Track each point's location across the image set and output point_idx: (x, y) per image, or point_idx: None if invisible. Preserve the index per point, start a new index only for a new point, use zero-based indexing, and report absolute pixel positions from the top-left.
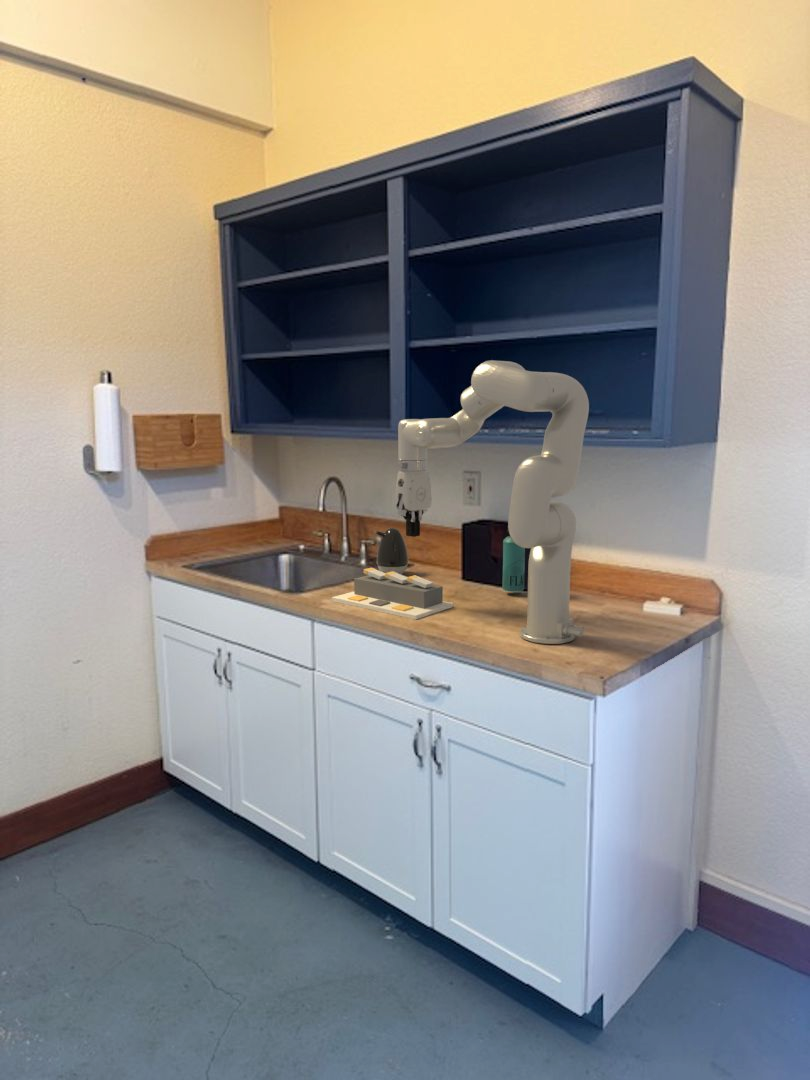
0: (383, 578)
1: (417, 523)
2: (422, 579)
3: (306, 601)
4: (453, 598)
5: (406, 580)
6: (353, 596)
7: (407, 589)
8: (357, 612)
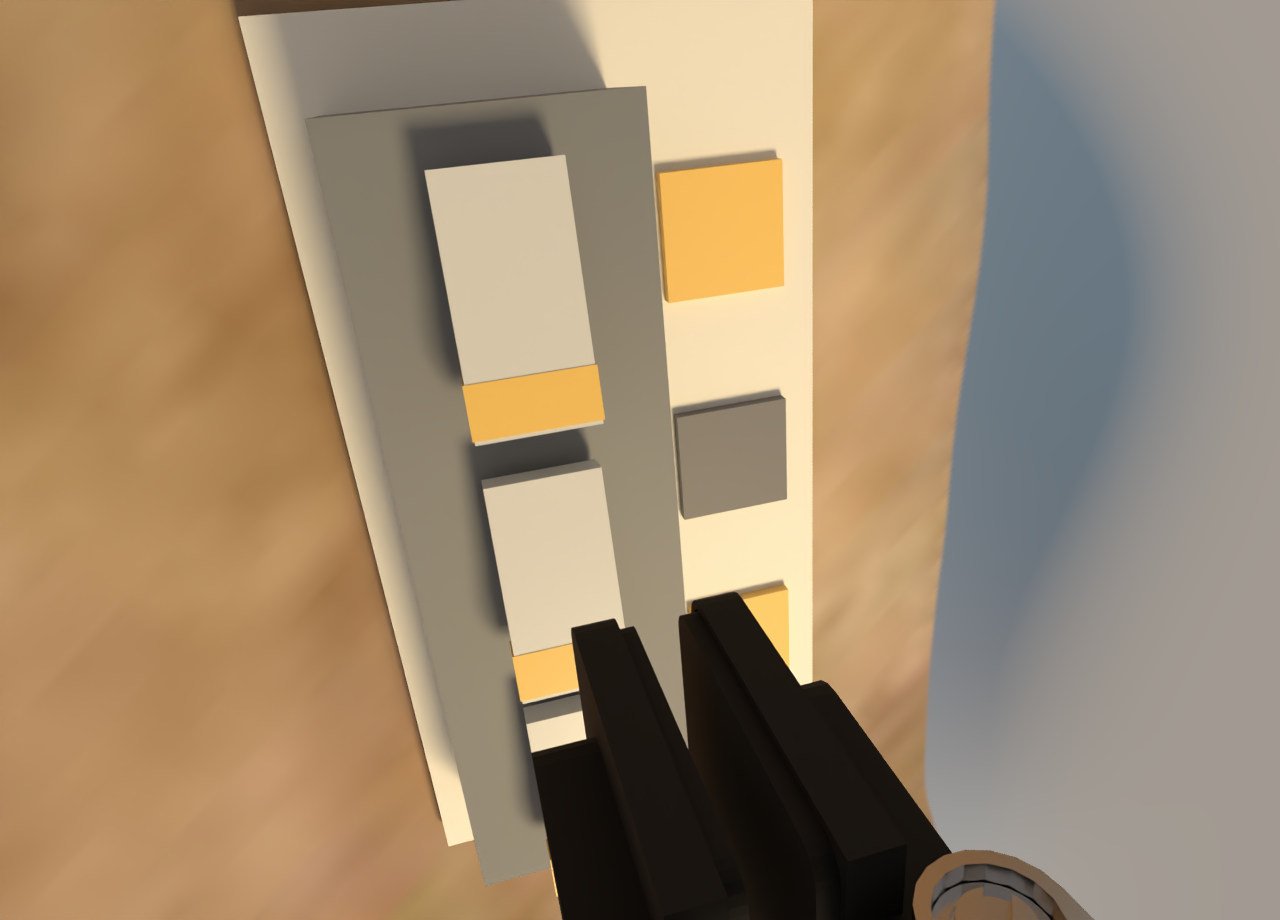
0: (579, 695)
1: (724, 857)
2: (485, 304)
3: None
4: (18, 259)
5: (538, 475)
6: None
7: (662, 306)
8: (900, 438)
